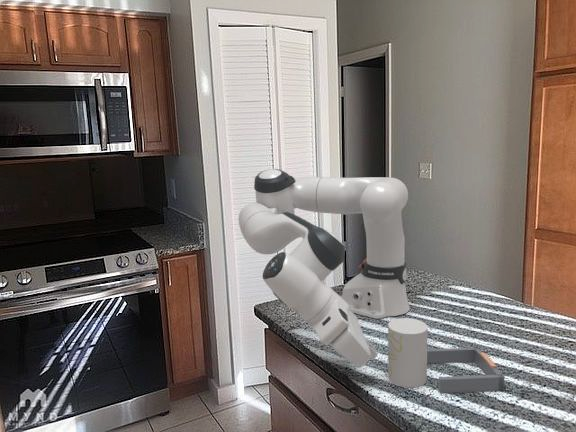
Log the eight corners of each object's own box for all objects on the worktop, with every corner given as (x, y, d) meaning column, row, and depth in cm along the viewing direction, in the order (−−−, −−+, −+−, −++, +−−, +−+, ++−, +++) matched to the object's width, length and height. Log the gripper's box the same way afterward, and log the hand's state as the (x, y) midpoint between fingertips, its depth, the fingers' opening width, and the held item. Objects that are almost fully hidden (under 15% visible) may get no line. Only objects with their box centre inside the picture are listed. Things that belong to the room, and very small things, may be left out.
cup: (386, 367, 104) (386, 318, 102) (422, 368, 103) (423, 318, 101) (390, 387, 96) (390, 333, 94) (430, 388, 95) (431, 334, 93)
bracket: (440, 393, 93) (440, 377, 92) (421, 361, 106) (421, 347, 105) (503, 390, 93) (504, 374, 92) (477, 359, 106) (477, 345, 105)
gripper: (314, 305, 107) (356, 342, 109) (321, 345, 87) (372, 390, 89) (333, 286, 106) (375, 324, 108) (344, 322, 86) (395, 368, 88)
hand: (374, 354), depth 98 cm, fingers closed
